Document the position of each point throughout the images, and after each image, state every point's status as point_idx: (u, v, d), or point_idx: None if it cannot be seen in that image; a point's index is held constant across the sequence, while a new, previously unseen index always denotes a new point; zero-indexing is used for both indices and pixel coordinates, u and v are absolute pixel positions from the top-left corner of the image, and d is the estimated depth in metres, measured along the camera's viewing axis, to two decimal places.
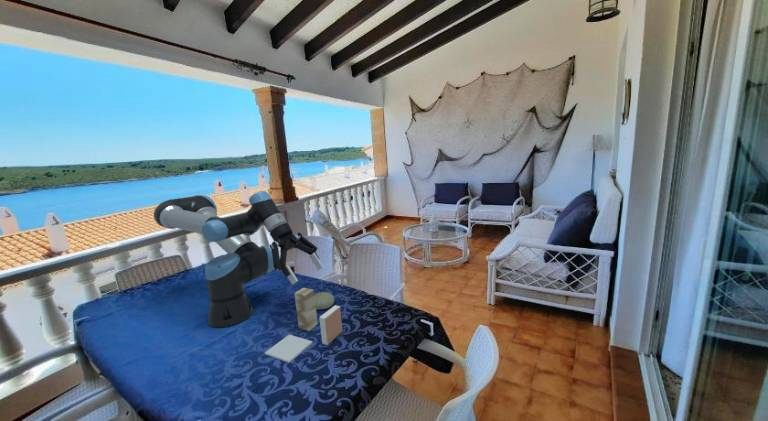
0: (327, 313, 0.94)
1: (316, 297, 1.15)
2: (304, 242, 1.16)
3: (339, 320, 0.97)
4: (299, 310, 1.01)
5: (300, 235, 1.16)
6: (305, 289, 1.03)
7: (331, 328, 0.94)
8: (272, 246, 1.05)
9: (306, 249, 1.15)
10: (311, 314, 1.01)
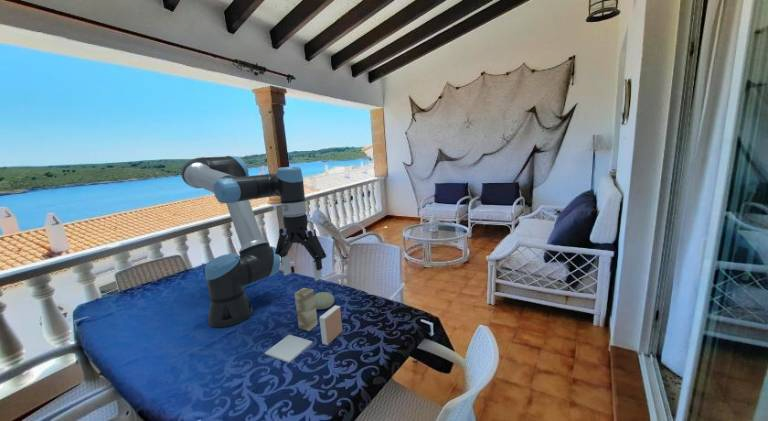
0: (327, 313, 0.94)
1: (316, 297, 1.15)
2: None
3: (339, 320, 0.97)
4: (299, 310, 1.01)
5: (309, 235, 0.94)
6: (305, 289, 1.03)
7: (331, 328, 0.94)
8: None
9: None
10: (311, 314, 1.01)
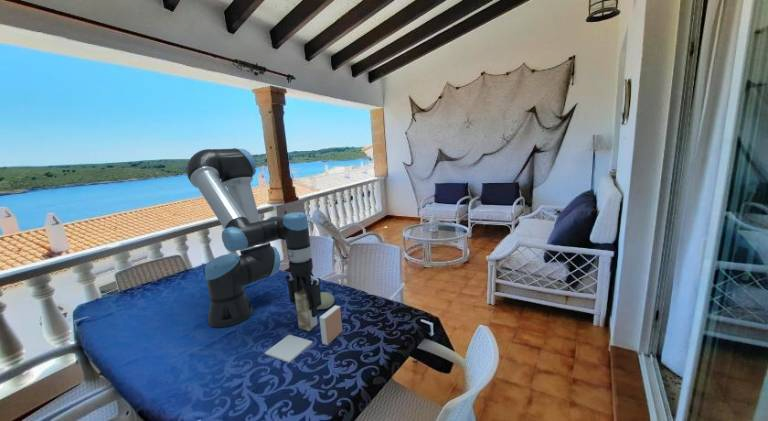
0: (327, 313, 0.94)
1: None
2: None
3: (339, 320, 0.97)
4: (299, 310, 1.01)
5: (313, 284, 0.97)
6: None
7: (331, 328, 0.94)
8: None
9: None
10: None
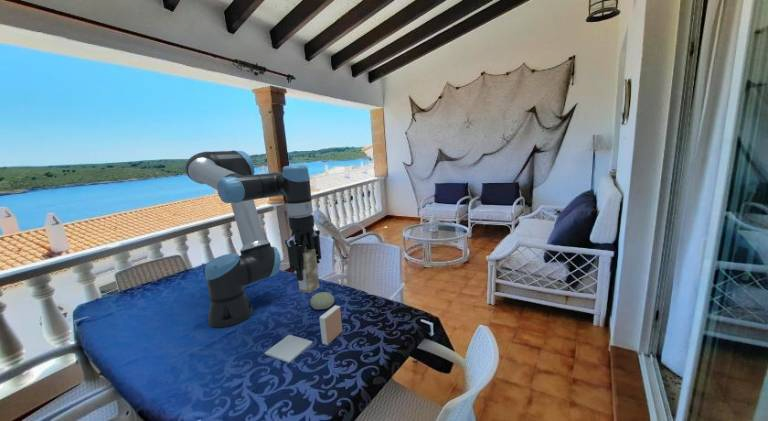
0: (327, 313, 0.94)
1: (316, 297, 1.15)
2: (315, 243, 0.98)
3: (339, 320, 0.97)
4: (310, 270, 0.94)
5: (318, 234, 0.98)
6: None
7: (331, 328, 0.94)
8: (289, 245, 0.88)
9: None
10: None
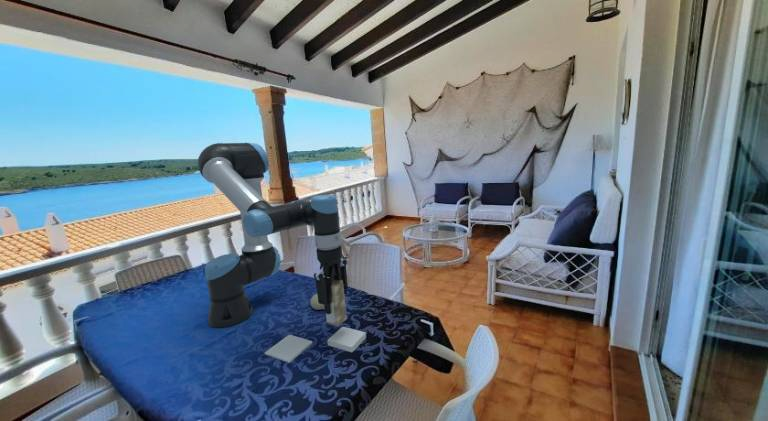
0: (357, 344, 0.90)
1: (316, 297, 1.15)
2: (342, 273, 0.95)
3: None
4: (338, 302, 0.91)
5: (345, 264, 0.95)
6: None
7: None
8: (318, 278, 0.85)
9: None
10: None
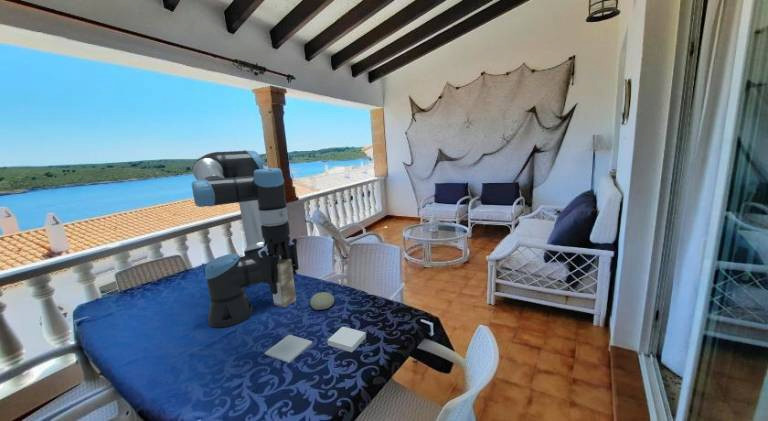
0: (356, 344, 0.90)
1: (316, 297, 1.15)
2: (291, 252, 0.91)
3: None
4: (285, 282, 0.86)
5: (294, 243, 0.91)
6: None
7: None
8: (261, 256, 0.81)
9: None
10: None
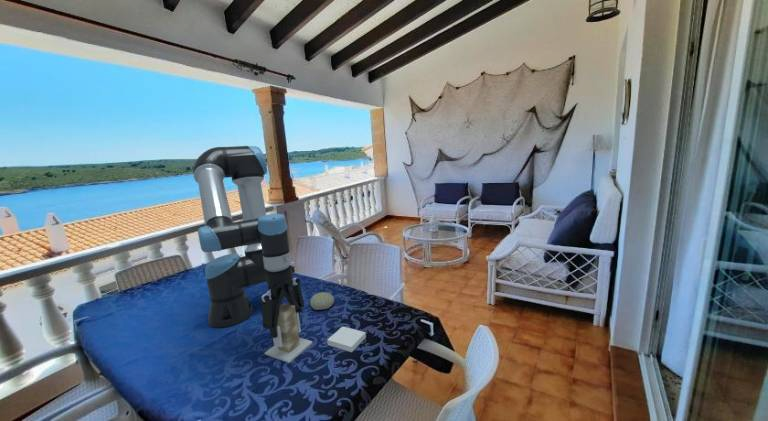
0: (356, 344, 0.90)
1: (316, 297, 1.15)
2: (296, 292, 0.93)
3: None
4: (289, 328, 0.89)
5: (298, 283, 0.93)
6: None
7: None
8: (263, 300, 0.83)
9: (293, 304, 0.92)
10: None
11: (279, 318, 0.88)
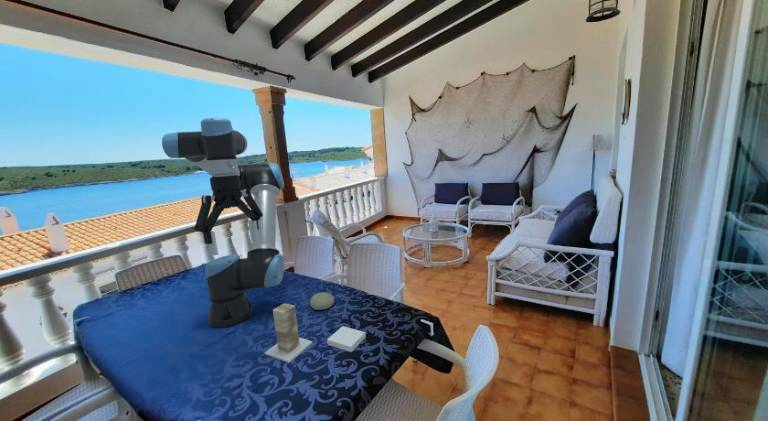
0: (356, 344, 0.90)
1: (315, 297, 1.15)
2: (250, 203, 0.92)
3: None
4: (289, 328, 0.89)
5: (249, 194, 0.90)
6: (279, 308, 0.89)
7: None
8: (204, 200, 0.79)
9: (248, 213, 0.91)
10: None
11: (279, 318, 0.88)
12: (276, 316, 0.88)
